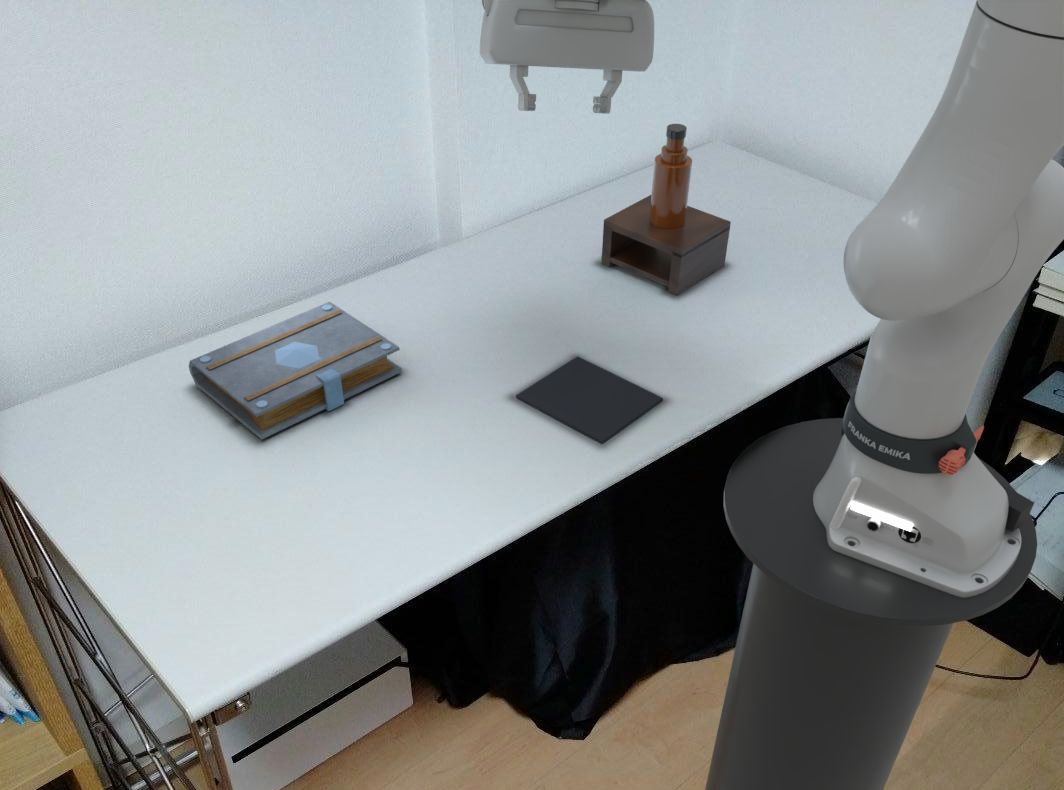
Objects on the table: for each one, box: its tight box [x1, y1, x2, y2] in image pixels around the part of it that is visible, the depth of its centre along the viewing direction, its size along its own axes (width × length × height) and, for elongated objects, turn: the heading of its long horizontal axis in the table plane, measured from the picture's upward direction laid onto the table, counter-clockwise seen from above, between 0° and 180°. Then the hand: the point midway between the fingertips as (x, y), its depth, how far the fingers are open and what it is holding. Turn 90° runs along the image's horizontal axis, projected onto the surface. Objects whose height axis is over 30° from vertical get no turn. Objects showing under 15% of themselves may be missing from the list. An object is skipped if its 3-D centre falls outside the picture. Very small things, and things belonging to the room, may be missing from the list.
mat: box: [515, 356, 664, 445], centre depth 130 cm, size 14×12×1 cm
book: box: [188, 301, 403, 440], centre depth 131 cm, size 21×16×5 cm
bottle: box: [649, 123, 693, 229], centre depth 146 cm, size 5×5×14 cm
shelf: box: [600, 193, 732, 296], centre depth 153 cm, size 14×12×7 cm
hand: (564, 112), depth 119 cm, fingers open, 8 cm apart
